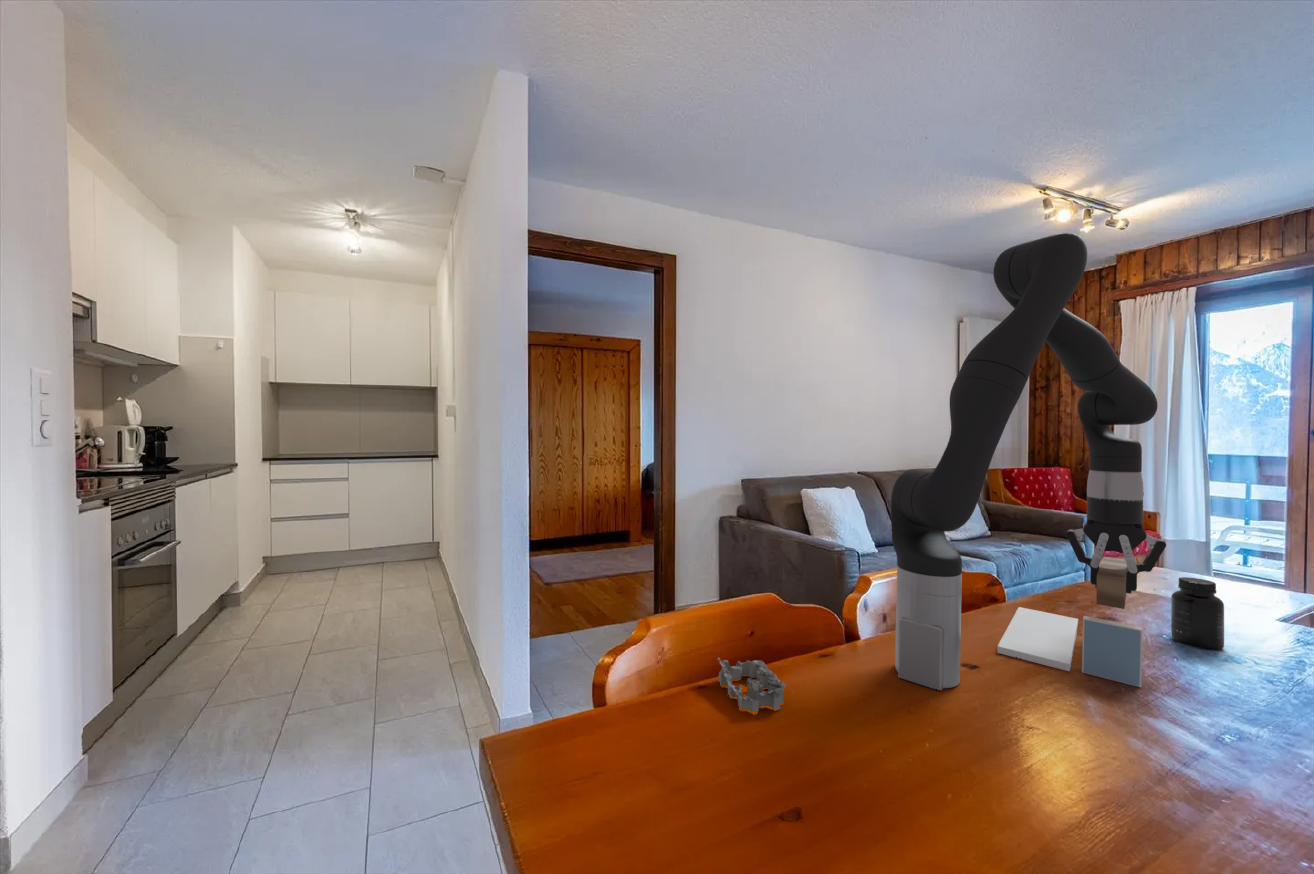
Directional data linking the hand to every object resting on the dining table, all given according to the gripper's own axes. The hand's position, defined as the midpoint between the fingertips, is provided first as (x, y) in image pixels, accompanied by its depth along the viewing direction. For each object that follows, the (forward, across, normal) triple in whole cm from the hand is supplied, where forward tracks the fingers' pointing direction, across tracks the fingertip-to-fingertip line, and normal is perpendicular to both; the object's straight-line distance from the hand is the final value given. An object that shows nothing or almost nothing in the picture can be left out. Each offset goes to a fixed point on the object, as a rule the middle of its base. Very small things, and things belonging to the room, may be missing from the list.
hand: (1113, 589), depth 90 cm
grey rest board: (+11, -10, -2) cm, 15 cm away
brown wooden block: (+1, 0, 0) cm, 1 cm away
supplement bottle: (+12, +12, +16) cm, 23 cm away
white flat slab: (+11, 0, -14) cm, 18 cm away
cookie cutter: (+11, -40, -59) cm, 72 cm away
